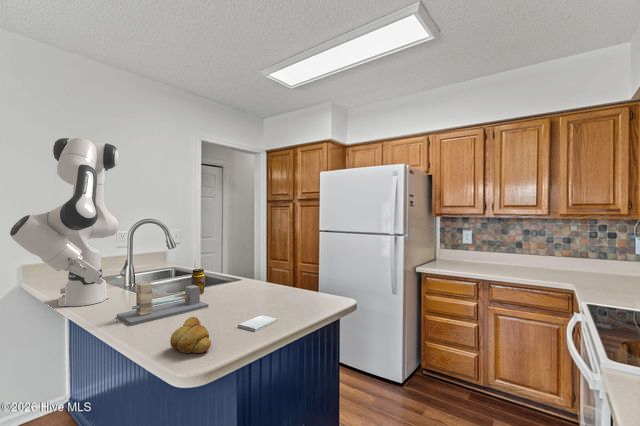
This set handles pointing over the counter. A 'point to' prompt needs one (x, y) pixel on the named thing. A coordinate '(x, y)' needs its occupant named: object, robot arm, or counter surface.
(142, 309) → the notched wooden block
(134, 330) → the counter surface
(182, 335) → the bread roll
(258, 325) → the hard drive
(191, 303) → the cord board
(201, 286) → the condiment
